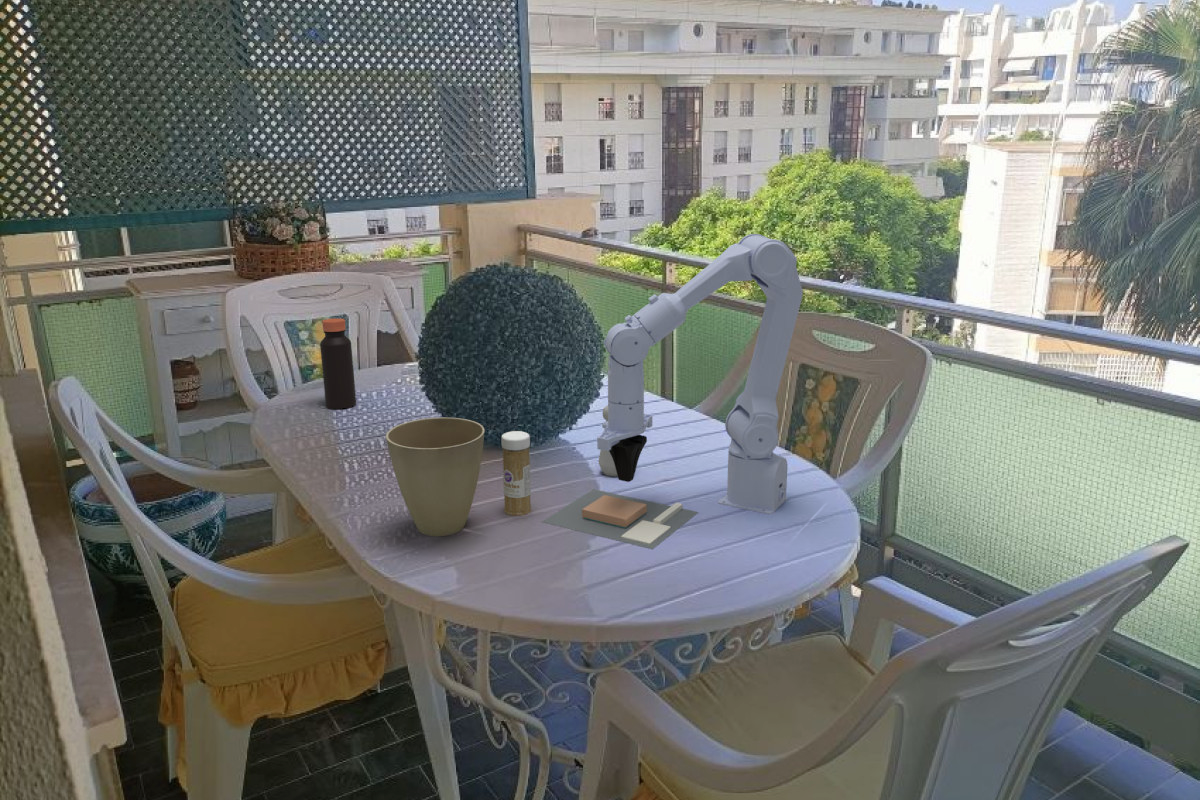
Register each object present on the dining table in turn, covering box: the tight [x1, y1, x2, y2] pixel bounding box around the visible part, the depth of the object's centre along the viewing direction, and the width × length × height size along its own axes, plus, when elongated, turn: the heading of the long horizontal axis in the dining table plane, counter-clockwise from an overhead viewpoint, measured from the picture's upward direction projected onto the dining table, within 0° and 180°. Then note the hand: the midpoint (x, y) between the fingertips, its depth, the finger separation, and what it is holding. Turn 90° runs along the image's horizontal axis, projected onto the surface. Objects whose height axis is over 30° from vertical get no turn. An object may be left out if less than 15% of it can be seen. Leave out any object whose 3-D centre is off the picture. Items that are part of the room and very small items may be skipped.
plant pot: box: [385, 417, 485, 537], centre depth 142 cm, size 15×15×16 cm
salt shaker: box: [598, 405, 618, 478], centre depth 164 cm, size 6×6×13 cm
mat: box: [541, 489, 699, 550], centre depth 147 cm, size 20×16×1 cm
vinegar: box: [319, 317, 357, 410], centre depth 207 cm, size 7×7×20 cm
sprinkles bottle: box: [501, 430, 532, 516], centre depth 148 cm, size 5×5×14 cm
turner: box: [621, 502, 684, 545], centre depth 144 cm, size 15×5×1 cm, turn 149°
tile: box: [582, 495, 647, 528], centre depth 147 cm, size 8×2×7 cm
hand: (625, 479), depth 149 cm, fingers closed
